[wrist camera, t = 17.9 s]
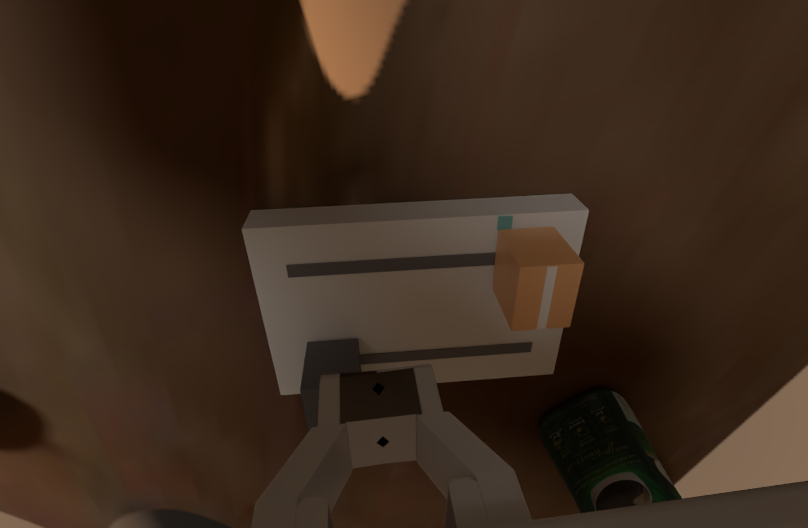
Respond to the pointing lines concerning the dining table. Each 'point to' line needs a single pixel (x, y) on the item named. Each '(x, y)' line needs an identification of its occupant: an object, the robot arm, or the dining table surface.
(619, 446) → the coffee jar
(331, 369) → the fader
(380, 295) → the console
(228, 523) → the dining table surface
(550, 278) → the fader
